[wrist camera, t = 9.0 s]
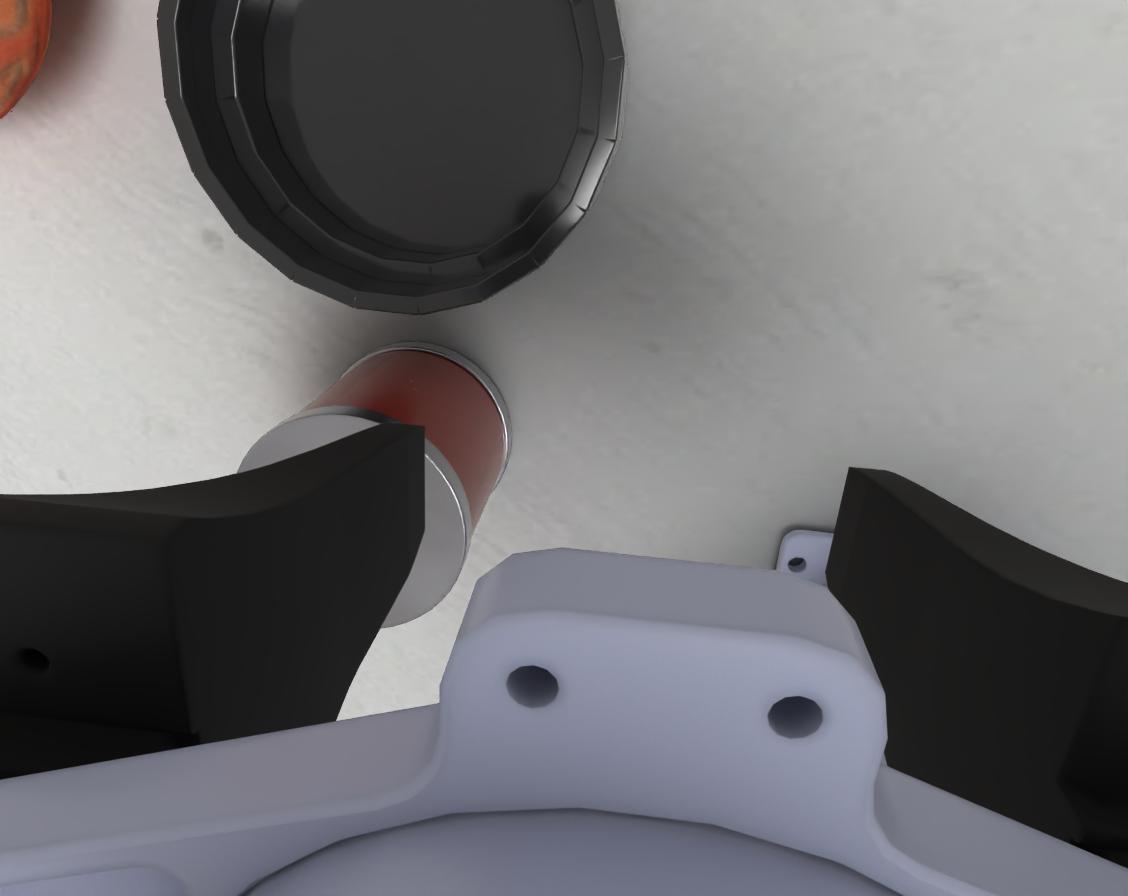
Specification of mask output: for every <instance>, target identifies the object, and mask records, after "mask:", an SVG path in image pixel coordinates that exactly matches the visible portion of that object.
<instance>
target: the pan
mask: <svg viewBox="0 0 1128 896" xmlns="http://www.w3.org/2000/svg"><path fill="white" fill-rule="evenodd" d="M157 18H158V19H157V28H158V38H159V48H160V58H161V68H162V77H163V87H164V97H165V99H167V100H166V104H167V107H168V109H169V112H170V115H171V117H172V120H173V123H174V125H175V128H176V131H177V133H178V136H179V139H180V141H181V144H182V147H183V149H184V152H185V154H186V157H187V160H188V162H189V165H190V168H191V170H192V172H193V173H194V176H195V177H196V179H197V180H198V182H199V183H200V185H201V186H202V187H203V189H204V190H205V192H206V193H207V194H208V196H209V197H210V199H211V200H212V201H213V203H214V204H215V206H216V207H217V209H218V210H219V211H220V213H221V214H222V216H223V217H224V218H225V220H226V221H227V223H228V224H229V225H230V227H231V228H232V230H233V231H234V233H235V234H238V235H237V236H238V237H239V238H240V239H242V240H243V241H244V242H245V243H246V244H248V245H249V246H250V247H251V248H252V249H254V250H255V251H256V252H257V253H259V254H260V255H261V256H262V257H263V258H265V259H266V260H267V261H268V262H269V263H271V264H272V265H273V266H274V267H275V268H277V269H278V270H279V271H280V272H281V273H283V274H284V275H285V276H286V277H288V278H289V279H290V280H293V282H295V283H297V284H300V285H302V286H304V287H307V288H309V289H311V290H313V291H316V292H318V293H320V294H323V295H325V296H327V297H330V298H332V299H334V300H336V301H339V302H341V303H343V304H346V305H348V306H350V307H353V308H354V307H355V308H357V309H364V310H374V311H383V312H392V313H401V314H410V315H425V314H429V313H434V312H439V311H443V310H448V309H453V308H457V307H462V306H466V305H471V304H476V303H480V302H482V301H486V300H487V299H489V298H491V297H492V296H494V295H496V294H497V293H499V292H501V291H502V290H504V289H506V288H507V287H509V286H511V285H512V284H514V283H516V282H517V281H519V280H521V279H522V278H524V277H526V276H527V275H529V274H531V273H532V272H534V271H536V270H537V269H539V268H540V267H541V266H542V265H543V264H544V263H545V262H546V261H547V260H548V258H549V257H550V256H551V255H552V254H553V253H554V251H555V250H556V249H557V248H558V247H559V246H560V244H561V243H562V242H563V241H564V240H565V238H566V237H567V236H568V235H569V234H570V233H571V231H572V230H573V229H574V228H575V227H576V225H577V224H578V223H579V222H580V221H581V220H582V218H583V217H584V216H585V215H586V214H587V212H588V211H589V210H590V208H591V207H592V206H593V204H594V203H595V201H596V199H597V198H598V195H599V193H600V190H601V188H602V186H603V183H604V181H605V178H606V176H607V174H608V171H609V169H610V166H611V164H612V162H613V159H614V157H615V155H616V152H617V150H618V147H619V145H620V143H621V138H622V134H623V125H624V115H625V105H626V96H627V86H628V77H629V68H628V64H629V62H628V57H627V52H626V46H625V41H624V35H623V30H622V24H621V19H620V14H619V8H618V3H617V0H160V2H159V7H158V13H157Z"/></svg>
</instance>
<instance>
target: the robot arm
mask: <svg viewBox="0 0 1128 896" xmlns="http://www.w3.org/2000/svg"><path fill="white" fill-rule="evenodd" d="M424 532H425V426H422V425H412V424H402V423H391V422H390V423H383V424H379V425H376V426H373V427H370V428H367V429H365V430H362V431H359V432H357V433H354V434H352V435H349V436H346V437H344V438H341V439H339V440H336V441H334V442H331V443H329V444H326V445H323V446H321V447H318V448H316V449H313V450H310V451H307V452H304V453H302V454H299V455H296V456H293V457H290V458H287V459H284V460H281V461H278V462H276V463H273V464H269V465H266V466H263V467H259V468H256V469H252V470H249V471H245V472H241V473H236V474H232V475H228V476H224V477H220V478H215V479H210V480H204V481H198V482H192V483H185V484H179V485H173V486H167V487H160V488H153V489H144V490H134V491H123V492H109V493H93V494H56V495H9V494H0V896H1128V583H1126V582H1123V581H1120V580H1117V579H1114V578H1111V577H1108V576H1106V575H1103V574H1100V573H1097V572H1094V571H1092V570H1089V569H1087V568H1084V567H1082V566H1079V565H1077V564H1074V563H1072V562H1070V561H1067V560H1065V559H1062V558H1060V557H1057V556H1055V555H1052V554H1050V553H1048V552H1045V551H1043V550H1041V549H1039V548H1037V547H1034V546H1032V545H1030V544H1028V543H1026V542H1024V541H1022V540H1020V539H1018V538H1016V537H1014V536H1012V535H1010V534H1008V533H1006V532H1004V531H1002V530H1000V529H998V528H996V527H994V526H992V525H990V524H988V523H986V522H985V521H983V520H981V519H979V518H977V517H975V516H973V515H972V514H970V513H968V512H966V511H964V510H963V509H961V508H959V507H957V506H956V505H954V504H952V503H950V502H948V501H947V500H945V499H943V498H941V497H940V496H938V495H936V494H934V493H933V492H931V491H929V490H927V489H925V488H924V487H922V486H920V485H918V484H916V483H914V482H912V481H910V480H908V479H907V478H904V477H902V476H900V475H898V474H895V473H893V472H890V471H886V470H875V469H865V468H855V467H849V469H848V474H847V478H846V483H845V487H844V491H843V496H842V500H841V504H840V509H839V513H838V517H837V522H836V526H835V531H834V534H833V533H825V532H817V531H808V530H794V531H791V532H789V533H788V534H787V535H786V536H784V538H783V540H782V542H781V547H780V552H779V556H778V561H777V565H776V570H770V569H760V568H751V567H741V566H732V565H722V564H713V563H703V562H694V561H684V560H675V559H665V558H656V557H646V556H637V555H627V554H618V553H608V552H599V551H589V550H580V549H570V548H555V549H547V550H539V551H531V552H523V553H515V554H512V555H511V556H509V557H508V558H507V559H505V560H504V561H502V562H501V563H500V564H498V565H497V566H496V567H494V568H493V569H492V570H490V571H489V572H488V573H486V574H485V575H483V576H482V577H481V578H479V579H478V580H477V582H476V585H475V588H474V590H473V593H472V596H471V599H470V602H469V604H468V607H467V610H466V613H465V615H464V618H463V621H462V624H461V627H460V629H459V632H458V635H457V638H456V641H455V643H454V646H453V649H452V652H451V655H450V658H449V661H448V663H447V666H446V669H445V672H444V675H443V678H442V681H441V684H440V702H439V703H438V704H432V705H426V706H421V707H415V708H409V709H403V710H398V711H392V712H386V713H380V714H375V715H369V716H363V717H357V718H352V719H346V720H340V721H336V719H337V717H338V714H339V712H340V709H341V707H342V704H343V702H344V699H345V697H346V694H347V692H348V689H349V687H350V685H351V683H352V681H353V679H354V676H355V674H356V672H357V670H358V668H359V666H360V664H361V662H362V661H363V659H364V657H365V655H366V653H367V652H368V650H369V648H370V646H371V644H372V642H373V641H374V639H375V637H376V635H377V633H378V632H379V630H380V628H381V626H382V624H383V623H384V621H385V619H386V617H387V615H388V614H389V612H390V610H391V608H392V606H393V604H394V603H395V601H396V599H397V597H398V595H399V593H400V591H401V590H402V588H403V586H404V584H405V582H406V580H407V578H408V576H409V574H410V572H411V569H412V567H413V564H414V561H415V559H416V556H417V553H418V550H419V547H420V544H421V541H422V538H423V535H424ZM795 557H800V558H803V559H804V560H803V562H802V563H801V564H800V565H798V566H792V565H789V564H788V563H789V561H790V560H791V559H793V558H795Z"/></svg>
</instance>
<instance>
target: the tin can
mask: <svg viewBox="0 0 1128 896" xmlns="http://www.w3.org/2000/svg"><path fill="white" fill-rule="evenodd" d="M390 422H391V423H402V424H412V425H422V426H425V532H424V535H423V538H422V541H421V544H420V547H419V550H418V553H417V556H416V559H415V561H414V564H413V567H412V569H411V572H410V574H409V576H408V578H407V580H406V582H405V584H404V586H403V588H402V590H401V591H400V593H399V595H398V597H397V599H396V601H395V603H394V604H393V606H392V608H391V610H390V612H389V614H388V615H387V617H386V619H385V621H384V623H383V624H382V626H381V628H386V627H393V626H396V625H400V624H403V623H406V622H409V621H411V620H413V619H416V618H418V617H420V616H421V615H423V614H425V613H426V612H428V611H430V610H431V609H432V608H433V607H435V606H436V605H437V604H438V603H440V602H441V601H442V599H443V598H444V597H445V596H446V595H447V594H448V593H449V592H450V590H451V588H452V587H453V585H454V584H455V582H456V581H457V578H458V576H459V574H460V572H461V570H462V567H463V565H464V563H465V560H466V558H467V554H468V551H469V547H470V541H471V536H472V534H473V532H474V530H475V527H476V525H477V523H478V521H479V518H480V516H481V514H482V512H483V509H484V507H485V505H486V503H487V500H488V498H489V496H490V494H491V493H492V491H493V490H494V489H495V487H496V486H497V484H498V483H499V481H500V479H501V477H502V475H503V473H504V470H505V468H506V466H507V463H508V460H509V456H510V452H511V445H512V430H511V423H510V418H509V414H508V411H507V407H506V405H505V403H504V401H503V398H502V396H501V395H500V393H499V391H498V390H497V388H496V386H495V385H494V384H493V382H492V381H491V380H490V379H489V377H488V376H487V375H486V374H485V373H484V372H483V371H482V370H481V369H480V368H479V367H478V366H476V365H475V364H474V363H473V362H471V361H470V360H469V359H467V358H465V357H464V356H462V355H460V354H459V353H457V352H454V351H452V350H450V349H448V348H445V347H442V346H438V345H435V344H430V343H424V342H399V343H394V344H389V345H385V346H383V347H380V348H377V349H375V350H373V351H371V352H369V353H368V354H366V355H364V356H363V357H362V358H360V359H359V360H358V361H356V362H355V363H354V364H353V365H351V366H350V367H349V368H348V369H347V370H346V371H345V372H344V373H343V375H342V376H341V377H340V379H339V380H338V381H337V382H336V383H335V384H334V385H333V386H331V387H330V388H329V389H328V390H326V391H325V392H324V393H323V394H322V395H320V396H319V397H318V398H317V399H315V400H314V401H313V402H312V403H310V404H309V405H308V406H307V407H306V408H304V409H303V410H302V411H301V412H299V413H298V414H295V415H293V416H291V417H289V418H288V419H286V420H284V421H282V422H280V423H279V424H278V425H277V426H275V427H274V428H273V429H271V430H270V431H269V432H267V433H266V434H265V435H264V436H262V437H261V438H260V439H259V440H258V441H257V442H256V443H255V444H254V445H253V446H252V447H251V449H250V450H249V451H248V453H247V454H246V456H245V457H244V459H243V461H242V463H241V465H240V467H239V469H238V471H237V473H241V472H245V471H249V470H252V469H256V468H259V467H263V466H266V465H269V464H273V463H276V462H278V461H281V460H284V459H287V458H290V457H293V456H296V455H299V454H302V453H304V452H307V451H310V450H313V449H316V448H318V447H321V446H323V445H326V444H329V443H331V442H334V441H336V440H339V439H341V438H344V437H346V436H349V435H352V434H354V433H357V432H359V431H362V430H365V429H367V428H370V427H373V426H376V425H379V424H383V423H390Z"/></svg>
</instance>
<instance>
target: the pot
mask: <svg viewBox="0 0 1128 896" xmlns="http://www.w3.org/2000/svg"><path fill="white" fill-rule="evenodd" d="M51 21H52V0H0V119H2V118H3V117H4V116H5V115H6V114H7V113H8V112H9V111H10V110H11V109H12V108H13V107H14V106H15V105H16V103H17V102H18V101H19V100H20V98H21V97H22V96H23V95H24V93H25V92H26V91H27V89H28V88H29V86H30V84H31V83H32V81H33V79H34V78H35V76H36V74H37V73H38V71H39V69H40V67H41V66H42V63H43V61H44V58H45V55H46V51H47V47H48V42H49V37H50V30H51ZM10 112H12V111H10Z"/></svg>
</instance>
